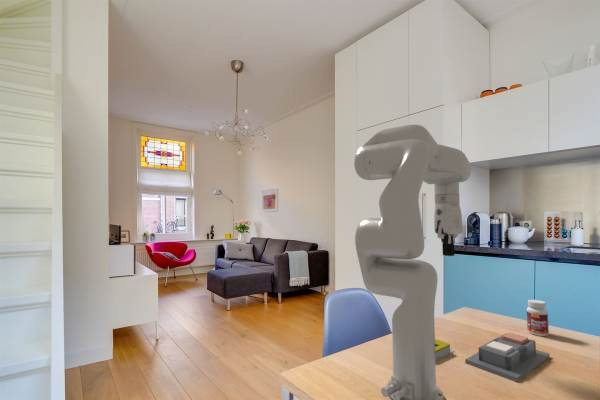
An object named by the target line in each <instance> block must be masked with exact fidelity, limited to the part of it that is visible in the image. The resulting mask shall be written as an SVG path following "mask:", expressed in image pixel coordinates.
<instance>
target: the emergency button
mask: <svg viewBox="0 0 600 400" xmlns="http://www.w3.org/2000/svg"><path fill="white" fill-rule="evenodd" d="M454 350H455V349H451V345H450V343H448V342H446V341H442V340H440V339H437V338H435V362H436V361H437V360H440V359H442V358H444V357H446V356H448V355H451V354H453V353H454V352H455V351H454Z"/></svg>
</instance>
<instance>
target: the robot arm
mask: <svg viewBox="0 0 600 400" xmlns="http://www.w3.org/2000/svg"><path fill="white" fill-rule="evenodd" d="M353 164H354V167H353V168H354V169H355V170H354V171H355V172H356V174H357V176H358V177H359V178H361V179H363V180H365V181H377V180H378V181H379V180H389V182H388V183H387V184H386V186H385V188H384V189H383V190H382V192H381V194H380V197H379V201H378V205H379V211H380V212H379V213H380V218H379V217H375V218H372V217H370V218H366V219H363V220H361V221H360V222H359V223H358V225H357V227H356V230H355V234H354V235H355V236H354V242H355V243H354V244H355V250H356V254H357V259H358V263H359V268H360V272H361V276H362V277H361V278H362V281H363V284H364V286H365V288H366V290H367V291H368V292H369V293H371V294H375V295H379V296H386V297H391V298H396V299H400V300H402V301H401V303H400V305H399V306H397V308H396V309H395V310H394V312H393V313H392V319H391V331H392V332H391V333H392V334H391V335H392V337H391V338H392V339H391V340H392V375H391V377H390V380H388V382H387V384H386V386H383V387H381V389H380V390H381V391H380V393H381V396H383V397H384V398H388V397H389V398H390V399H392V400H445V399H444V392H443V391H442V389H441V388H440V387H439V386H437V378H436V377H437V375H436V374H437V372H436V368H437V367H436V361H435V339H436V335H435V334H436V332H435V305H436V295H437V289H438V273H437V270H436V268H435V267H434V266H433V265H432V264H431V263H429V262H427V261H424V260H420V259H416V258H419V257H421V255H422V254H423V253H424V250H425V237H424V231H423V223H422V217H421V216H422V215H421V210H420V204H419V203H420V201H419V197H420V191H421V188H422V186H423V182H424V183H425V184H426V185H427V184H428V185H434V186H433V187H434V189H433V190H434V216H433V217H434V218H433V219H434V220H433V222H434V223H433V225H434V232H435V234H436V235H437V238H438V239H440V240H441V244H442V245H441V247H442V256H447V257H454V256H455V243H456V239H457V238H458V237H459V235H461V234H462V233H463V231H464V229H463V227H464V226H463V218H462V215H463V214H462V209H461V206H460V183H464V182H467V181H468V180H469V178H470V176H471V173H472V167H471V163H470V161H469V159H468V157H467V155H466V154H465V153H464V152H463V151H462V150H461V149H458V148H455V147H451V146H446V145H443V144H438V143H437V141H436V140H435V139H434V137H433V136H432V134H431V133H430V131H428V129H427V128H425V127H424V126H423V125H421V124H407V125H406V124H405V125H402V126H396V127H393V128H392V127H391V128H386V129H380V130H379V131H377V132H376V133H374V134H373V135H372V136H371V137H370V138H369V139H367V140H366V141H365V142H364V143H363V144H362V145H361V146H359V148H358V149H357V151H356V153H355V156H354V162H353Z"/></svg>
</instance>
